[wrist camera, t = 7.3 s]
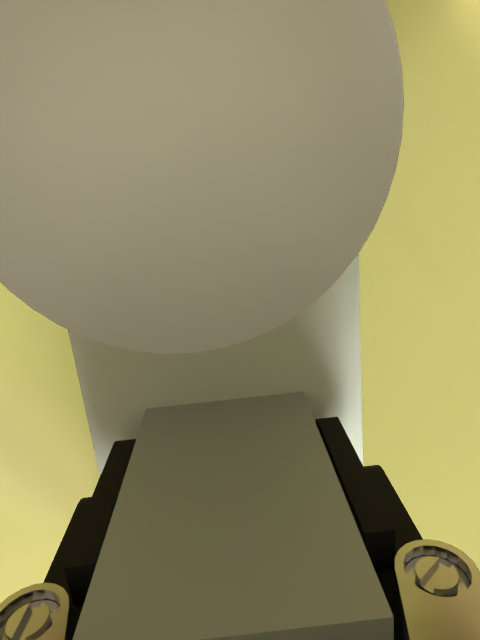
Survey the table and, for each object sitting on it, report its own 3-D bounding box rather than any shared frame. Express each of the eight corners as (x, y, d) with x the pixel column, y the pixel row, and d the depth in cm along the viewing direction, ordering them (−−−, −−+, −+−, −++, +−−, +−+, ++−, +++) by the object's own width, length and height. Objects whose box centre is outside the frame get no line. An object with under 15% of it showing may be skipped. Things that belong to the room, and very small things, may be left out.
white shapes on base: (338, 45, 10) (601, -254, 3) (357, 676, 16) (467, 1065, 9) (32, 75, 10) (-387, -168, 3) (162, 700, 16) (117, 1111, 9)
